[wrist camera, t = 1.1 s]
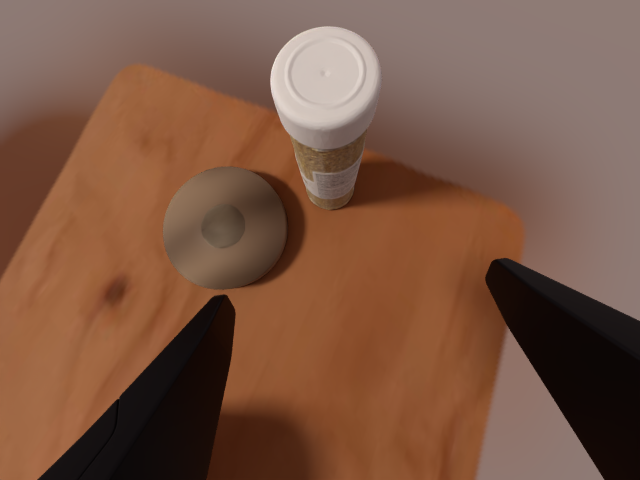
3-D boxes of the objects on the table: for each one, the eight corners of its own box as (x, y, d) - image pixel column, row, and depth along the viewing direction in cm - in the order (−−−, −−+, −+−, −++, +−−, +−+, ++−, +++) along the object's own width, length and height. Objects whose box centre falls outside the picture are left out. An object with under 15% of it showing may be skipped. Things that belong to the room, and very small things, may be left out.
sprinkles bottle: (304, 167, 23) (263, 28, 10) (352, 162, 23) (376, 11, 10) (308, 214, 23) (271, 132, 9) (357, 208, 22) (392, 117, 9)
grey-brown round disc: (310, 245, 22) (308, 243, 21) (209, 311, 22) (200, 314, 20) (249, 152, 24) (244, 144, 22) (154, 213, 23) (142, 209, 22)
